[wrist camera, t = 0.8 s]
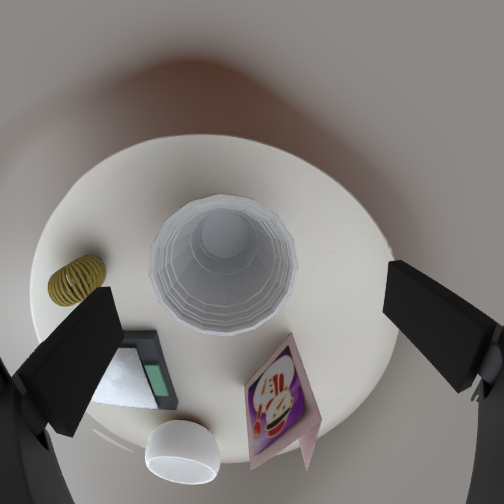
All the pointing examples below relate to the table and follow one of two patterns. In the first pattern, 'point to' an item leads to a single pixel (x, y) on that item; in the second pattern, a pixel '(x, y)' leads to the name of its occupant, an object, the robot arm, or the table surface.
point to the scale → (137, 375)
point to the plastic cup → (223, 265)
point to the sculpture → (76, 280)
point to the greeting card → (281, 407)
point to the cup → (183, 452)
